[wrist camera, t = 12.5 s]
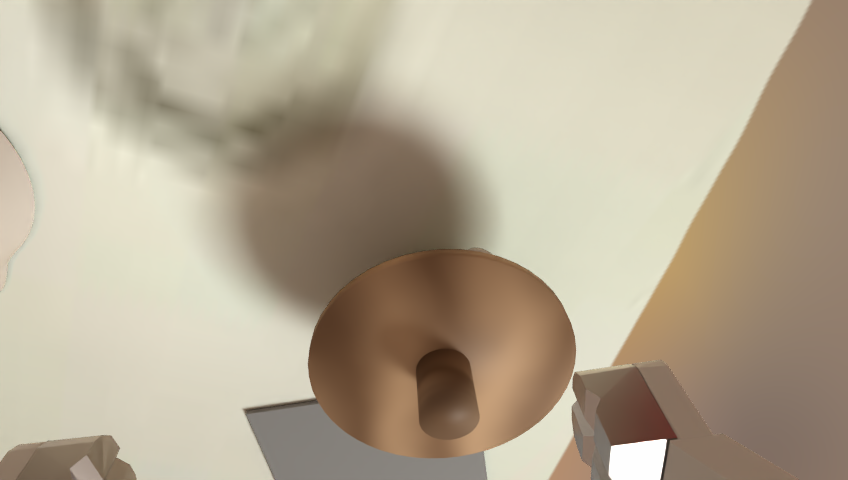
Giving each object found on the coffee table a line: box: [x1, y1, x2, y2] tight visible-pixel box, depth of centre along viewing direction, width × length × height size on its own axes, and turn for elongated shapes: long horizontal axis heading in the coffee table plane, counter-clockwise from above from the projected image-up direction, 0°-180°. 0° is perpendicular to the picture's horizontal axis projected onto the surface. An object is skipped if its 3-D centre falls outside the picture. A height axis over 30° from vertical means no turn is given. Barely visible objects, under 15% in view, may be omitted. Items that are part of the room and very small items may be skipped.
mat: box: [246, 401, 487, 480], centre depth 52 cm, size 20×18×1 cm
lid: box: [308, 249, 576, 458], centre depth 33 cm, size 17×17×5 cm
